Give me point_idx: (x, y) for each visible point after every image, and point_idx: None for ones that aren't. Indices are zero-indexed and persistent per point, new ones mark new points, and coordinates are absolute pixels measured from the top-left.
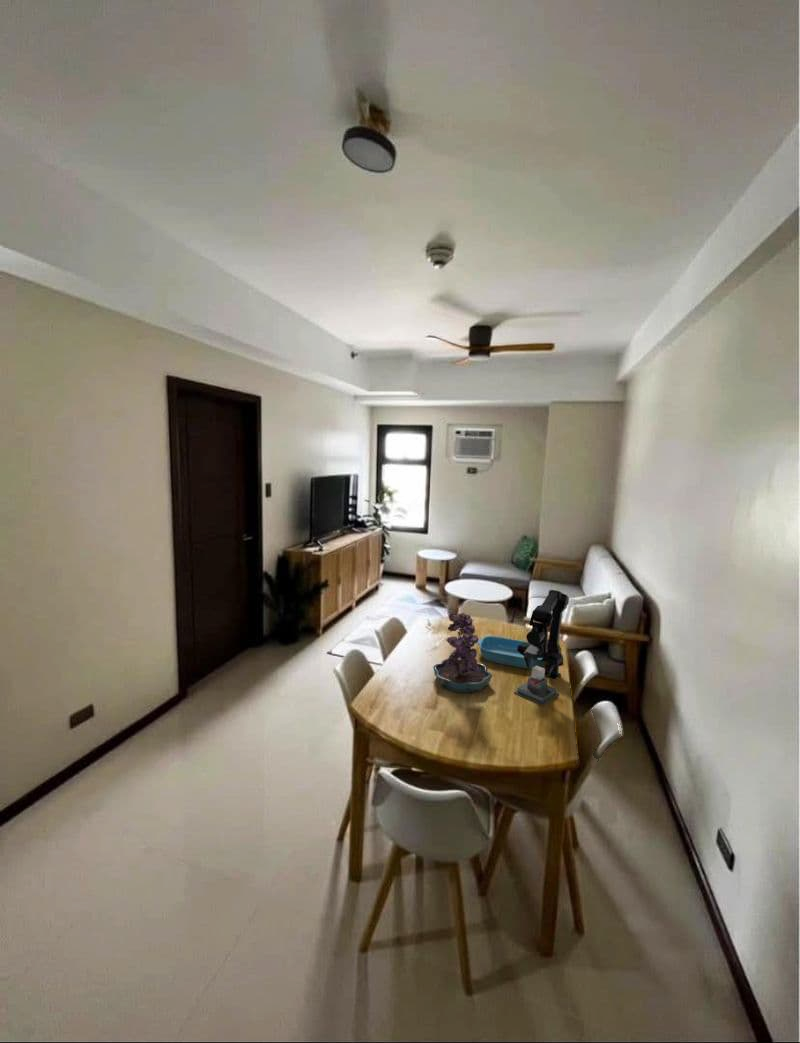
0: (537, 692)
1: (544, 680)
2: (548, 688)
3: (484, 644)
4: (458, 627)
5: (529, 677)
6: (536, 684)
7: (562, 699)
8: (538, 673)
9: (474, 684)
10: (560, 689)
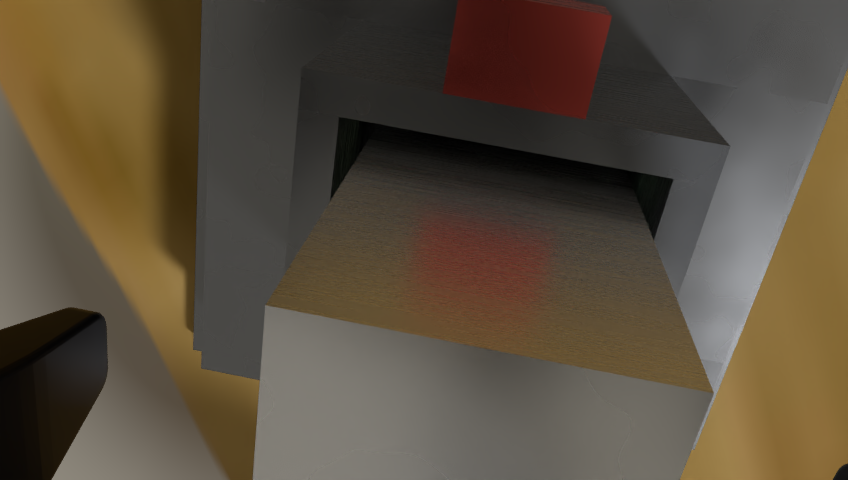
0: (418, 19)
1: None
2: None
3: None
4: None
5: (696, 219)
6: (441, 71)
7: (102, 225)
8: (377, 261)
9: None
10: (250, 473)
